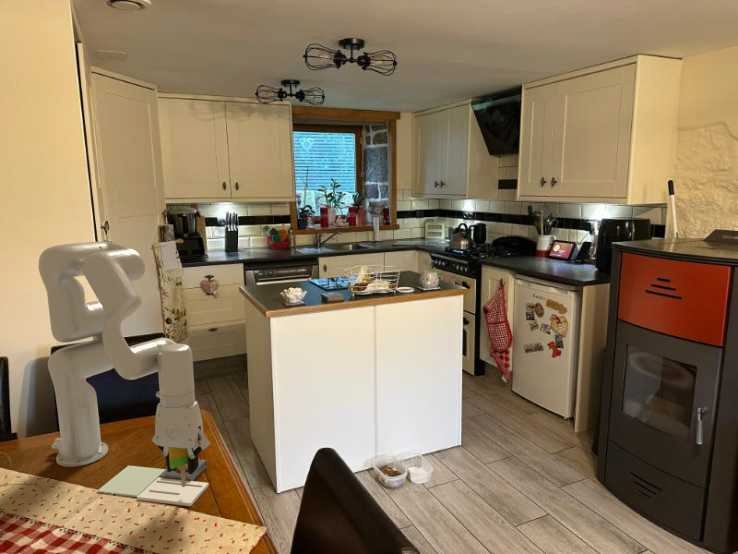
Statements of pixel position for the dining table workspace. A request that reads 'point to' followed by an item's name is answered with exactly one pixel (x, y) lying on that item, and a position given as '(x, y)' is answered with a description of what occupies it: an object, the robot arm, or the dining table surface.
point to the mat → (132, 481)
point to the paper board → (173, 491)
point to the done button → (180, 468)
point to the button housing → (189, 477)
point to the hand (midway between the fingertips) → (182, 469)
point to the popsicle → (179, 461)
